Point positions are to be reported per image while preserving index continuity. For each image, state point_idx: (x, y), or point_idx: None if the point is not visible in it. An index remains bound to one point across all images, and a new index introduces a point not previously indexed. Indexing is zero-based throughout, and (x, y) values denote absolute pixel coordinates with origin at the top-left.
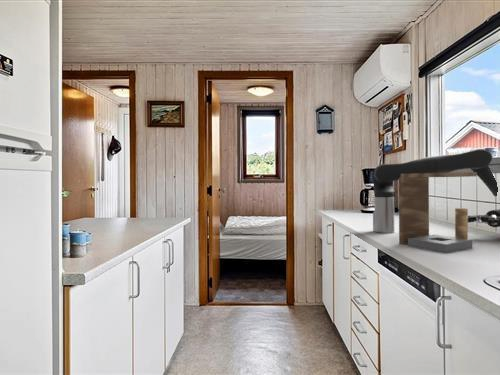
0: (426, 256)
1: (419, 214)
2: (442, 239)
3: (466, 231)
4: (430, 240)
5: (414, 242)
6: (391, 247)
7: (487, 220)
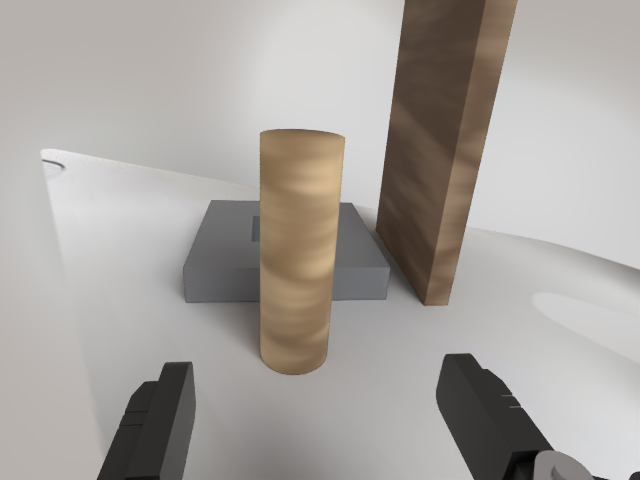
0: (222, 196)
1: (421, 149)
2: None
3: (260, 283)
4: None
5: None
6: None
7: (192, 370)
